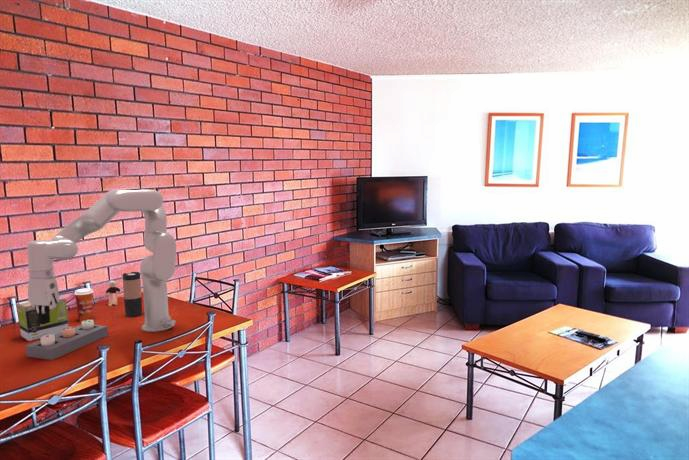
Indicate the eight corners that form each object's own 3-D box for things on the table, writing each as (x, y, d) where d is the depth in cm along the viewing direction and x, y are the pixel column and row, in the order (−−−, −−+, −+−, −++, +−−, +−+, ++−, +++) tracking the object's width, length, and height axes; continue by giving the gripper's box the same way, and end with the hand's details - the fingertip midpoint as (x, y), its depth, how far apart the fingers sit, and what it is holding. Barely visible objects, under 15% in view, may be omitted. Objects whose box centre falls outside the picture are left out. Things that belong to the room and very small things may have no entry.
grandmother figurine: (107, 307, 230) (105, 282, 229) (104, 305, 233) (103, 281, 231) (123, 304, 235) (121, 279, 234) (120, 302, 238) (119, 278, 237)
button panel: (108, 335, 190) (107, 326, 189) (51, 360, 165) (50, 349, 165) (85, 332, 193) (84, 323, 193) (26, 356, 169) (25, 345, 168)
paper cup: (81, 323, 205) (78, 293, 203) (73, 320, 210) (71, 290, 208) (99, 319, 211) (96, 289, 210) (91, 315, 216) (89, 286, 214)
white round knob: (58, 345, 172) (57, 334, 171) (47, 349, 168) (46, 338, 167) (49, 344, 173) (48, 333, 173) (38, 348, 169) (37, 337, 168)
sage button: (96, 329, 189) (96, 319, 188) (88, 333, 185) (87, 323, 184) (88, 328, 190) (87, 318, 190) (79, 332, 186) (78, 322, 185)
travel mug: (138, 317, 213) (135, 275, 211) (121, 317, 214) (119, 275, 211) (145, 312, 221) (143, 271, 219) (129, 312, 221) (127, 271, 219)
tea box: (60, 327, 201) (57, 294, 199) (69, 331, 195) (66, 298, 193) (19, 336, 189) (16, 301, 187) (28, 342, 183) (24, 306, 181)
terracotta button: (78, 337, 180) (77, 326, 180) (68, 340, 176) (68, 330, 176) (69, 335, 182) (68, 325, 181) (59, 339, 177) (59, 329, 177)
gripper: (66, 273, 168) (69, 322, 170) (35, 270, 172) (38, 318, 174) (47, 277, 161) (51, 328, 163) (16, 274, 165) (19, 324, 167)
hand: (44, 323), depth 169 cm, fingers closed
